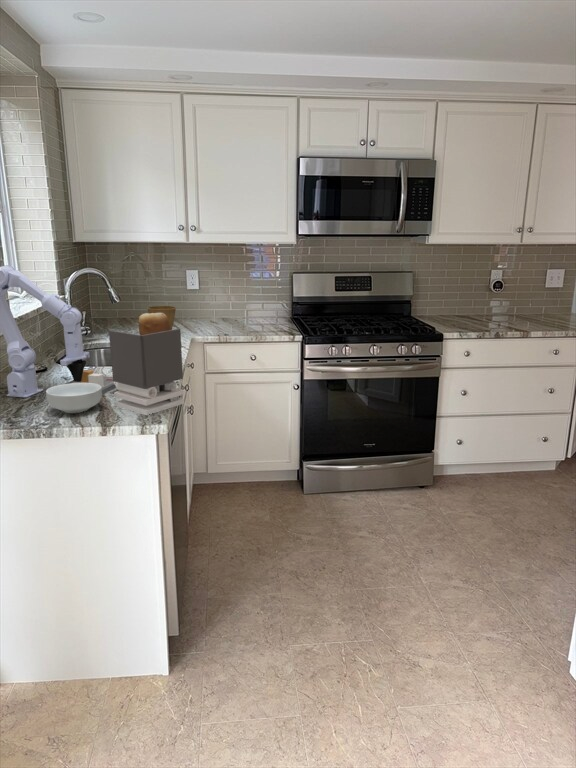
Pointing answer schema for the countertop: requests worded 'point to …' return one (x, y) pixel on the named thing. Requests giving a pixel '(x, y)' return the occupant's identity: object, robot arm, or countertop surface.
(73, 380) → the cords
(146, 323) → the bread loaf
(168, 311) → the plant pot
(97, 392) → the cereal bowl
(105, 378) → the breaker panel
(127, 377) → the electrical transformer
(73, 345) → the robot arm
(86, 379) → the orange block
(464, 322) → the countertop surface
